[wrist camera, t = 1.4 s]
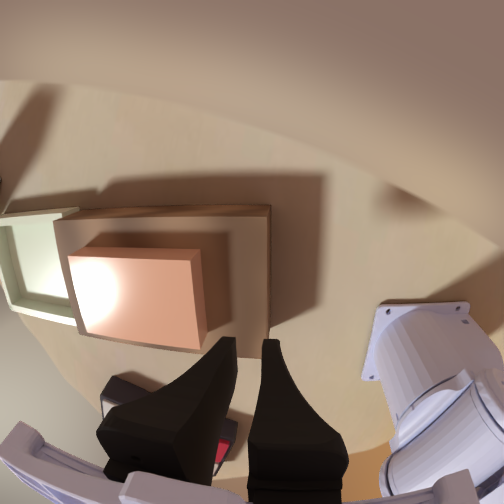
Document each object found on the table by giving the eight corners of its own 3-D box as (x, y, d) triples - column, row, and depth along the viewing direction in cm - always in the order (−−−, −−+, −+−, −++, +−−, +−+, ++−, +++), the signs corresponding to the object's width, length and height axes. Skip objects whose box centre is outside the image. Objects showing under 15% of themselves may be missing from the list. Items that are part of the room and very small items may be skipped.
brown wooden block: (270, 204, 21) (266, 216, 17) (269, 328, 24) (265, 359, 20) (82, 209, 22) (52, 221, 19) (101, 312, 26) (79, 334, 22)
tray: (79, 206, 22) (61, 213, 20) (100, 315, 26) (86, 328, 23) (3, 214, 24) (-13, 219, 21) (23, 300, 27) (10, 309, 25)
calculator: (214, 482, 29) (103, 445, 28) (218, 457, 33) (114, 422, 32) (235, 445, 25) (96, 398, 25) (239, 415, 29) (112, 373, 29)
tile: (200, 249, 18) (190, 260, 16) (207, 332, 20) (200, 349, 18) (84, 246, 19) (67, 255, 17) (100, 319, 21) (87, 332, 19)
